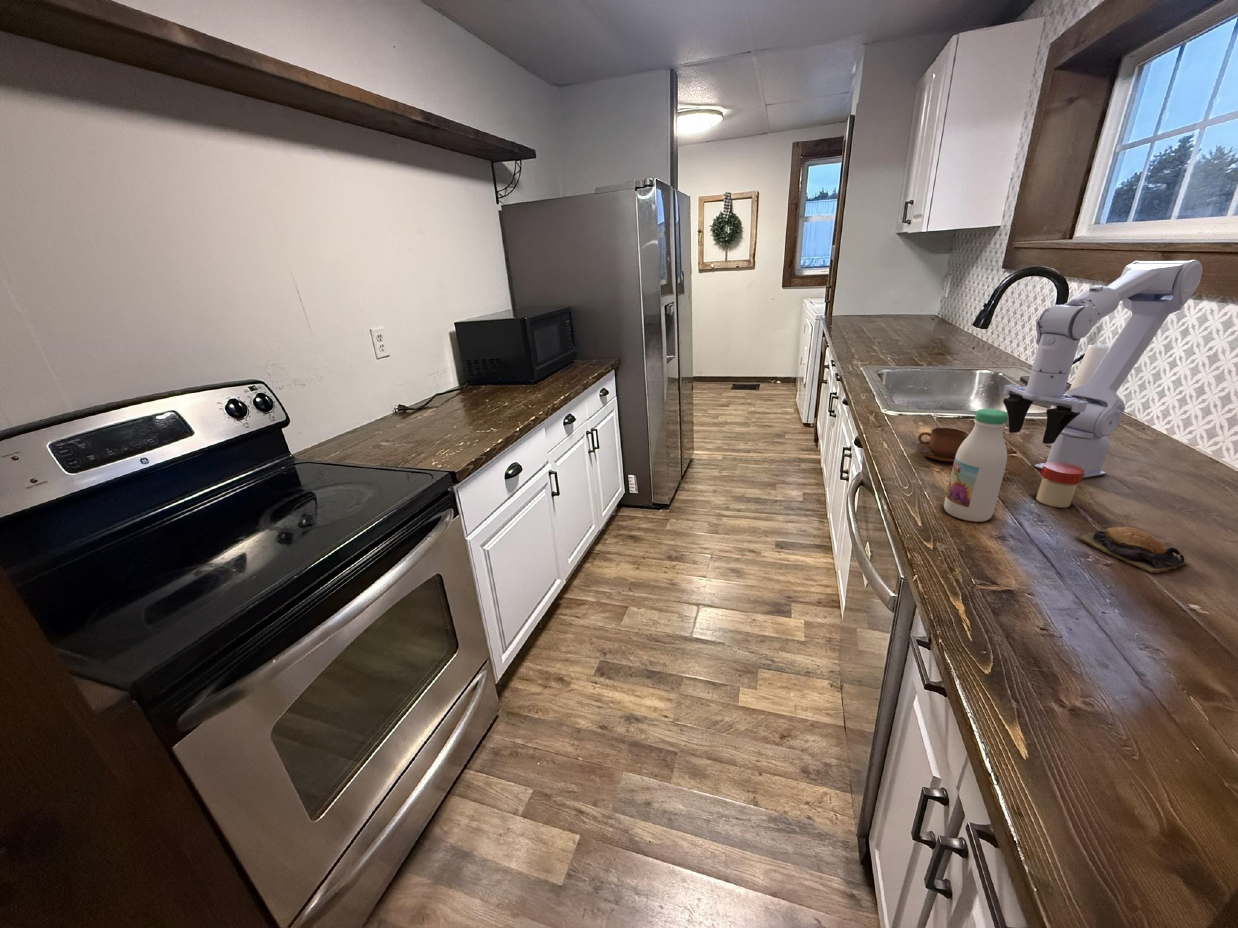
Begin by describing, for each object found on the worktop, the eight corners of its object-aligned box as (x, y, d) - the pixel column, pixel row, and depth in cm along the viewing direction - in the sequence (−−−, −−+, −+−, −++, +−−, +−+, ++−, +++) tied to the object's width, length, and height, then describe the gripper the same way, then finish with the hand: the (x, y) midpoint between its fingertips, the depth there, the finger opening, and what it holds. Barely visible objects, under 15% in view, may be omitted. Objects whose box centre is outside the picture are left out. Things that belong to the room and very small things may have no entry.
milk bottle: (984, 505, 96) (1011, 406, 89) (997, 525, 90) (1027, 419, 82) (938, 501, 99) (960, 404, 91) (948, 519, 92) (973, 416, 84)
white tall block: (1085, 451, 118) (1119, 349, 109) (1049, 444, 123) (1079, 346, 114) (1091, 444, 122) (1125, 345, 113) (1057, 437, 127) (1086, 343, 118)
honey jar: (1048, 493, 100) (1058, 464, 97) (1077, 504, 95) (1088, 474, 93) (1029, 497, 98) (1038, 468, 96) (1057, 509, 94) (1067, 478, 91)
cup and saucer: (919, 463, 116) (924, 438, 114) (912, 446, 126) (917, 423, 124) (980, 469, 112) (986, 443, 110) (968, 450, 122) (974, 426, 120)
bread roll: (1074, 540, 84) (1080, 521, 83) (1111, 531, 86) (1118, 513, 85) (1150, 575, 75) (1159, 554, 73) (1190, 564, 76) (1200, 544, 75)
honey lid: (1062, 486, 92) (1065, 475, 91) (1032, 473, 97) (1035, 463, 96) (1090, 482, 92) (1094, 472, 92) (1058, 470, 98) (1062, 460, 97)
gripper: (998, 365, 101) (982, 428, 106) (1074, 380, 88) (1051, 451, 93) (1026, 362, 102) (1009, 425, 108) (1105, 376, 89) (1081, 447, 94)
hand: (1030, 437), depth 100 cm, fingers open, 6 cm apart
